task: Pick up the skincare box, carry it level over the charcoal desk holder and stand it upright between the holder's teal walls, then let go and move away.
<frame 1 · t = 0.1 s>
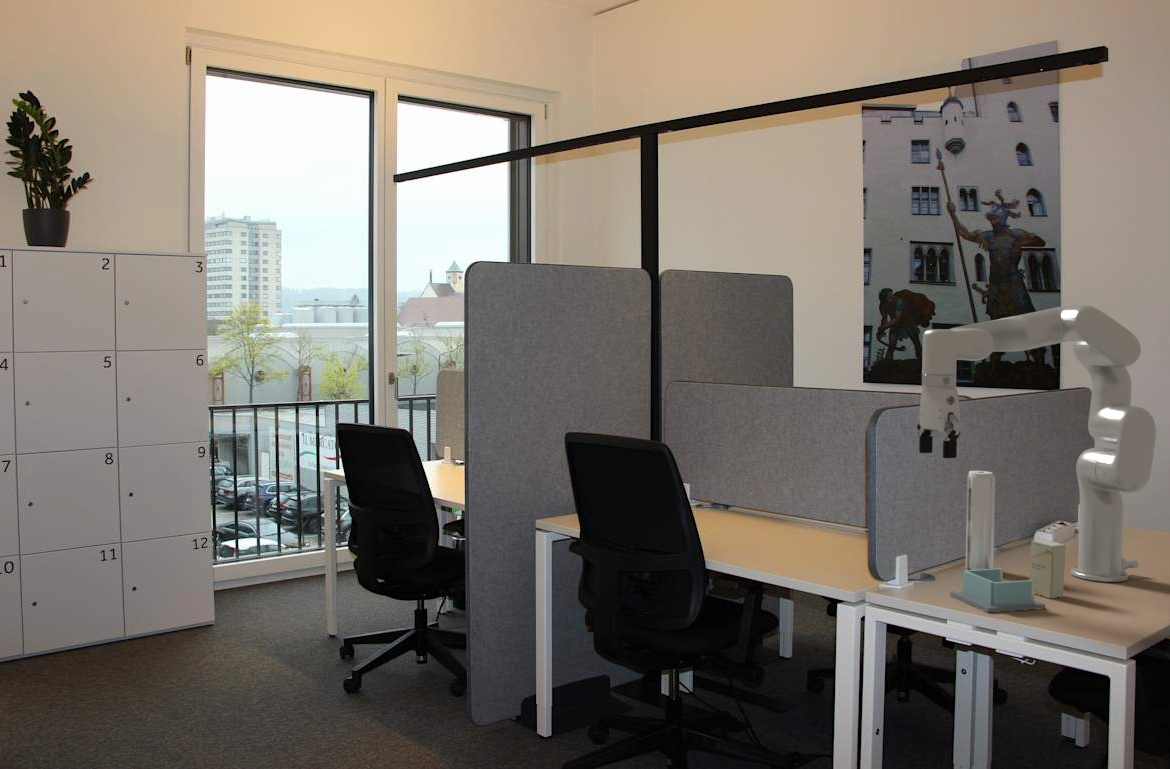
hand: (937, 455, 233), 31 cm above the table, tool pointing down, fingers open, 9 cm apart
air filter: (979, 571, 251), on the table
skincare box: (1046, 595, 228), on the table
holder: (996, 602, 222), on the table
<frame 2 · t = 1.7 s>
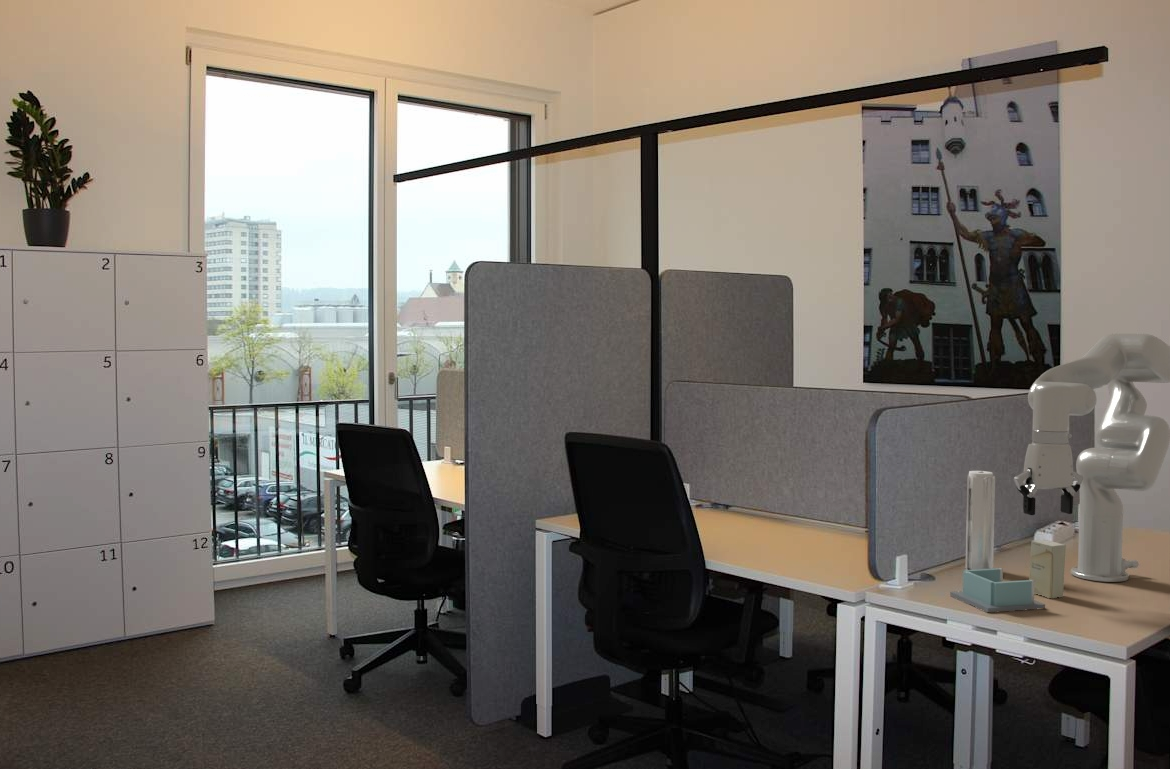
hand: (1047, 513, 227), 19 cm above the table, tool pointing down, fingers open, 9 cm apart
nothing on the table moved.
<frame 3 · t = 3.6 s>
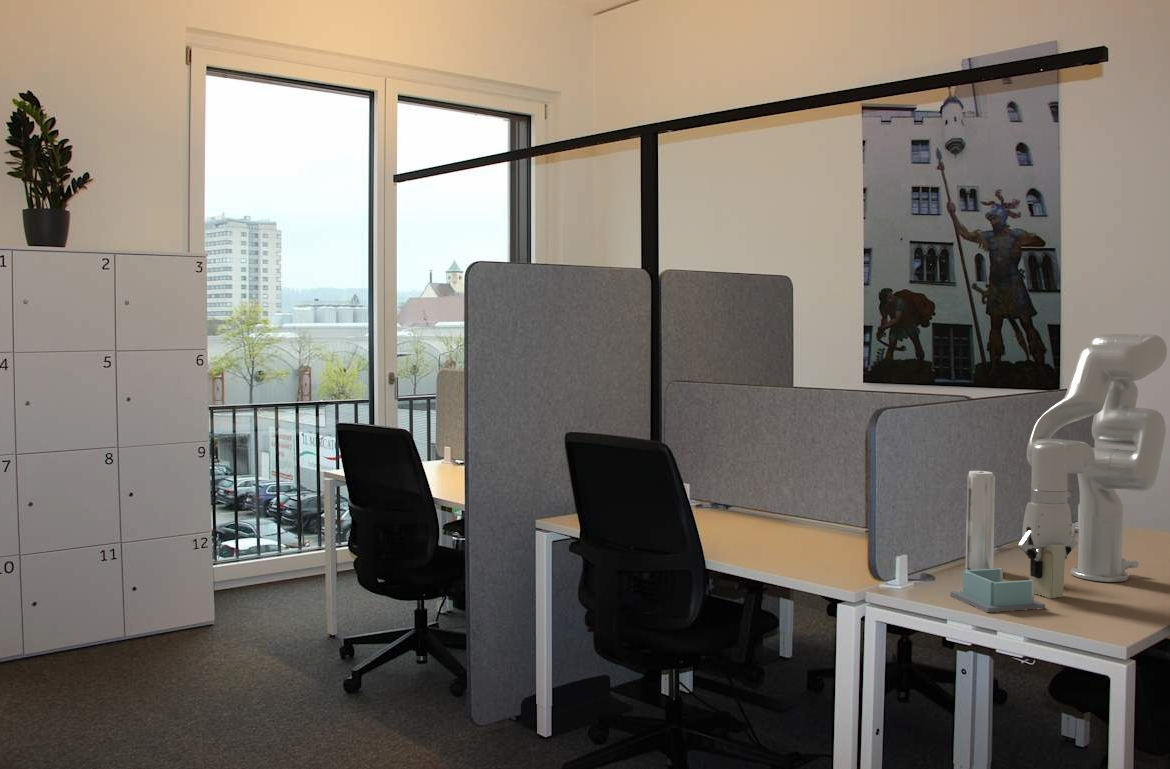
hand: (1046, 575, 228), 4 cm above the table, tool pointing down, fingers closed on skincare box, 4 cm apart
skincare box: (1046, 595, 228), on the table, touching gripper
everything else where it was.
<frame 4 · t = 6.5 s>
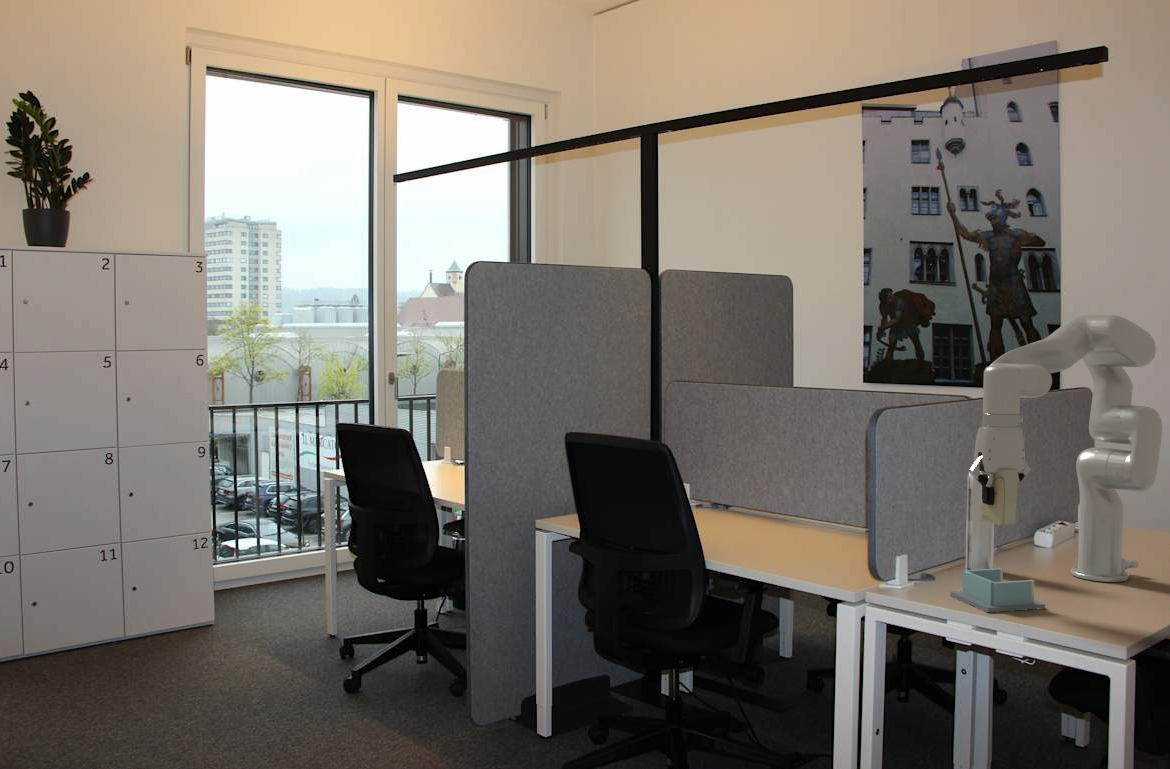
hand: (999, 502, 221), 22 cm above the table, tool pointing down, fingers closed on skincare box, 4 cm apart
skincare box: (999, 523, 221), point 18 cm above the table, touching gripper
everything else where it was.
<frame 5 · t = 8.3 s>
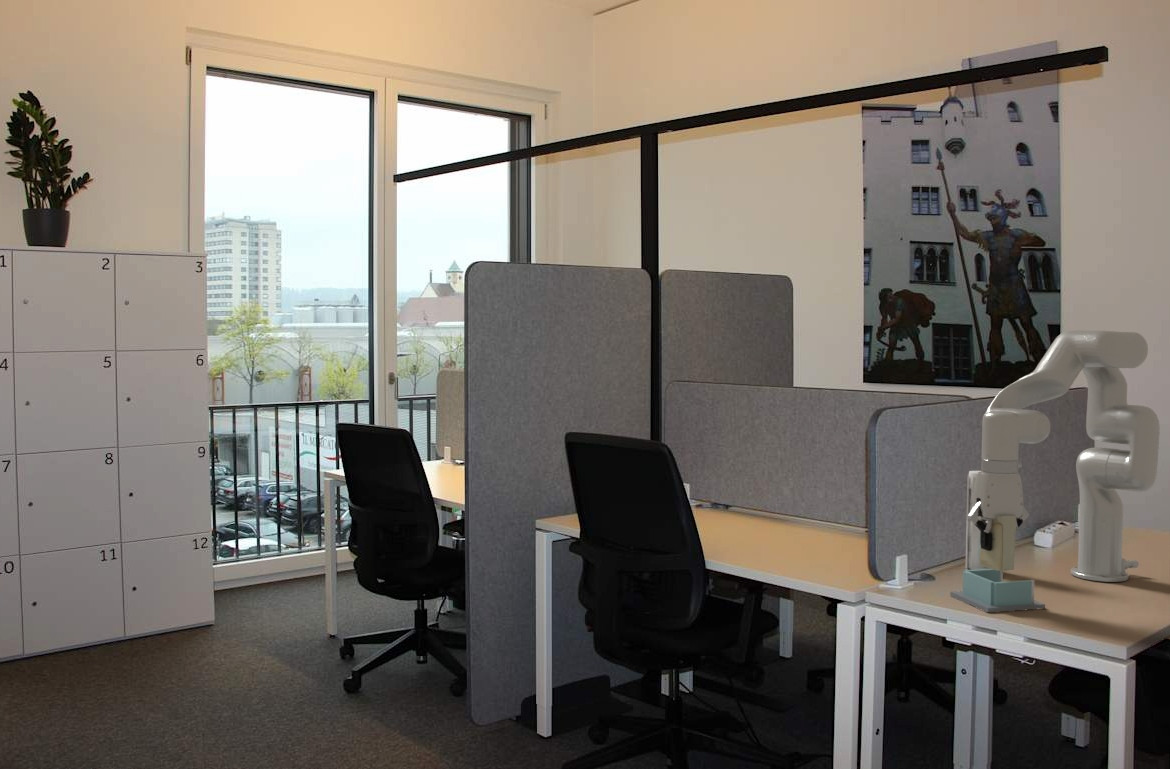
hand: (997, 548, 221), 12 cm above the table, tool pointing down, fingers closed on skincare box, 4 cm apart
skincare box: (997, 568, 221), point 8 cm above the table, touching gripper
everything else where it was.
when the fingers open (7 cm above the table, at t = 9.7 s): skincare box drops 1 cm, resting on holder.
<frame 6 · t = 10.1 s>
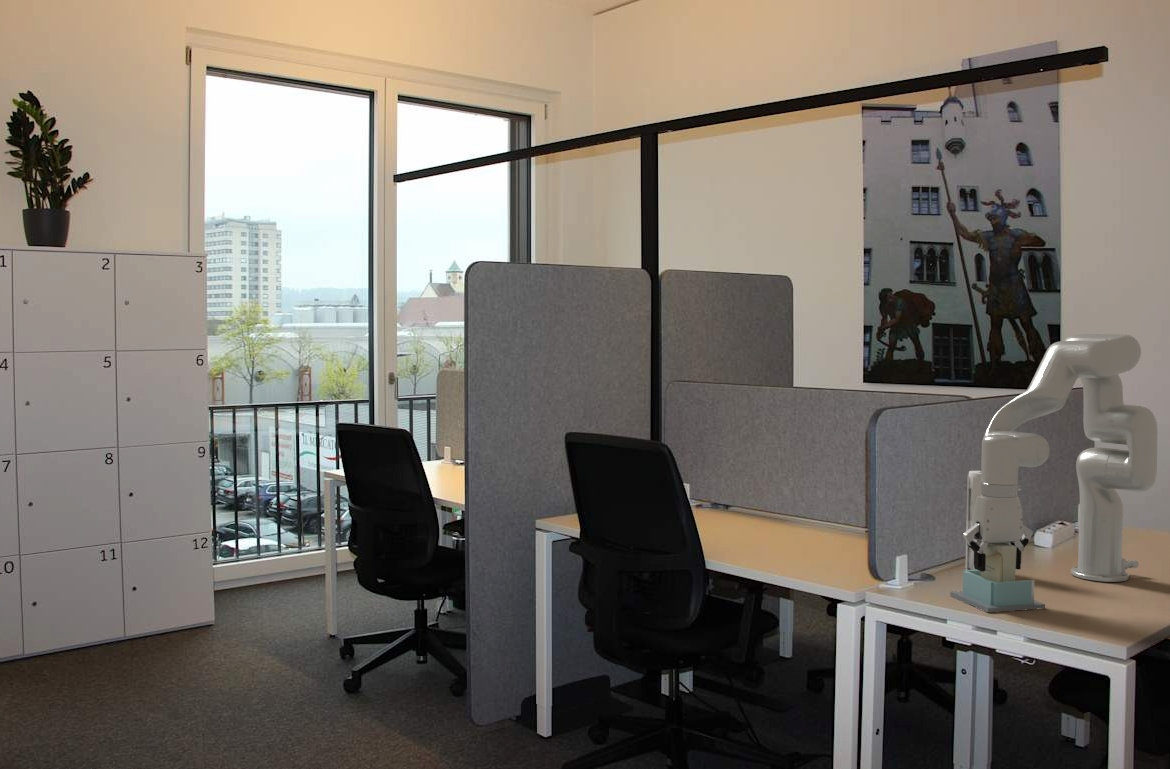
hand: (997, 568, 221), 8 cm above the table, tool pointing down, fingers open, 8 cm apart
skincare box: (997, 598, 222), point 1 cm above the table, touching holder
everything else where it was.
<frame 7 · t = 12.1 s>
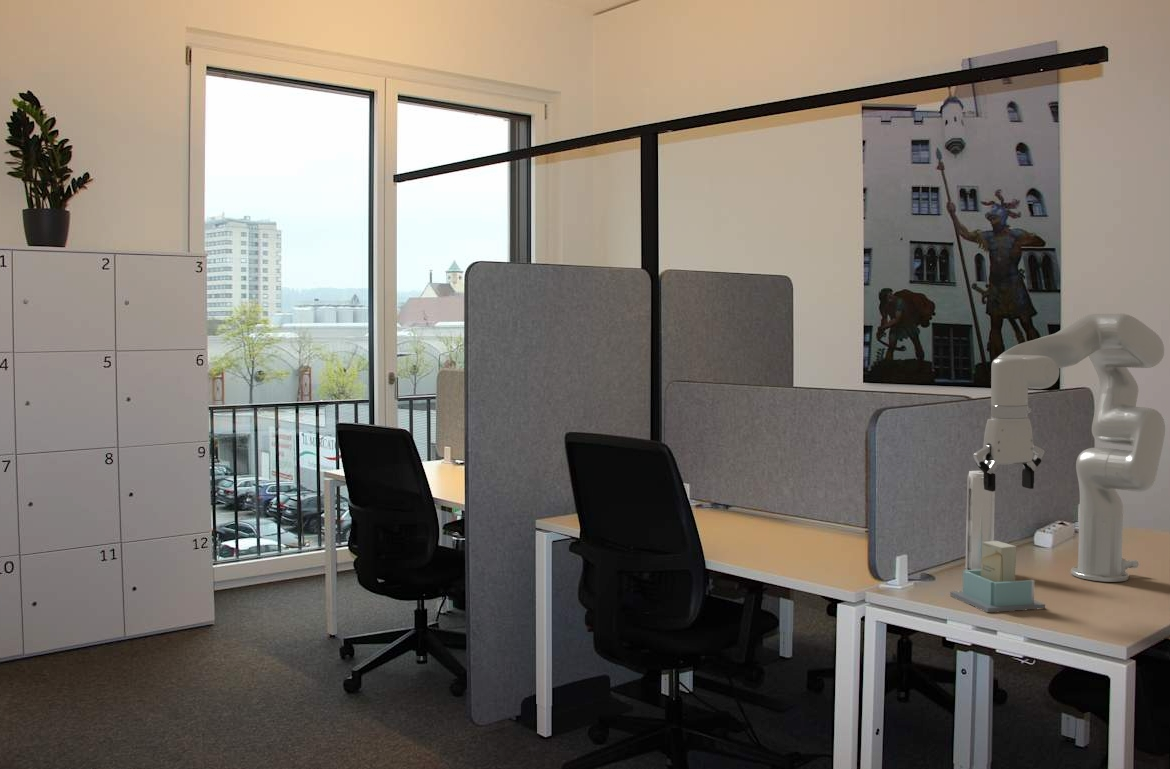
hand: (1008, 489, 223), 25 cm above the table, tool pointing down, fingers open, 9 cm apart
nothing on the table moved.
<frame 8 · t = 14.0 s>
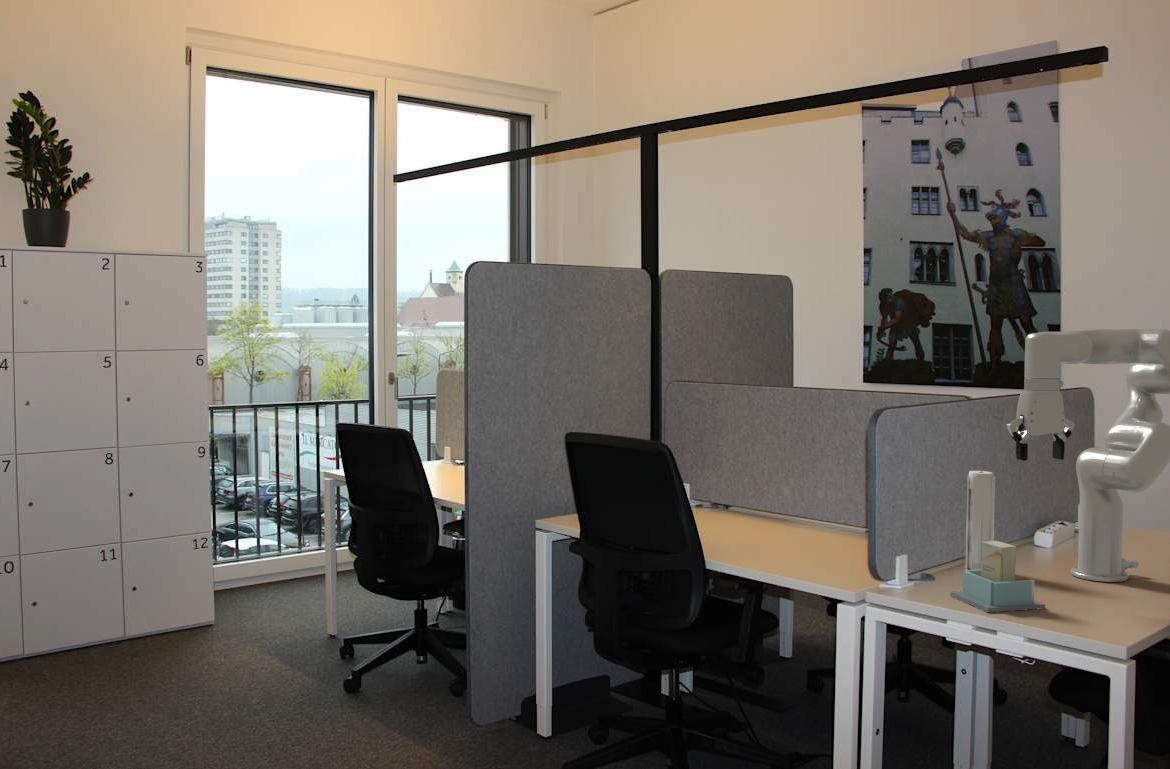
hand: (1040, 459, 233), 30 cm above the table, tool pointing down, fingers open, 9 cm apart
nothing on the table moved.
at the end: skincare box inside the target area on the holder (0.3 cm from its centre), point 0.8 cm above the holder's base; skincare box tilted 0°; the gripper is holding nothing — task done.
